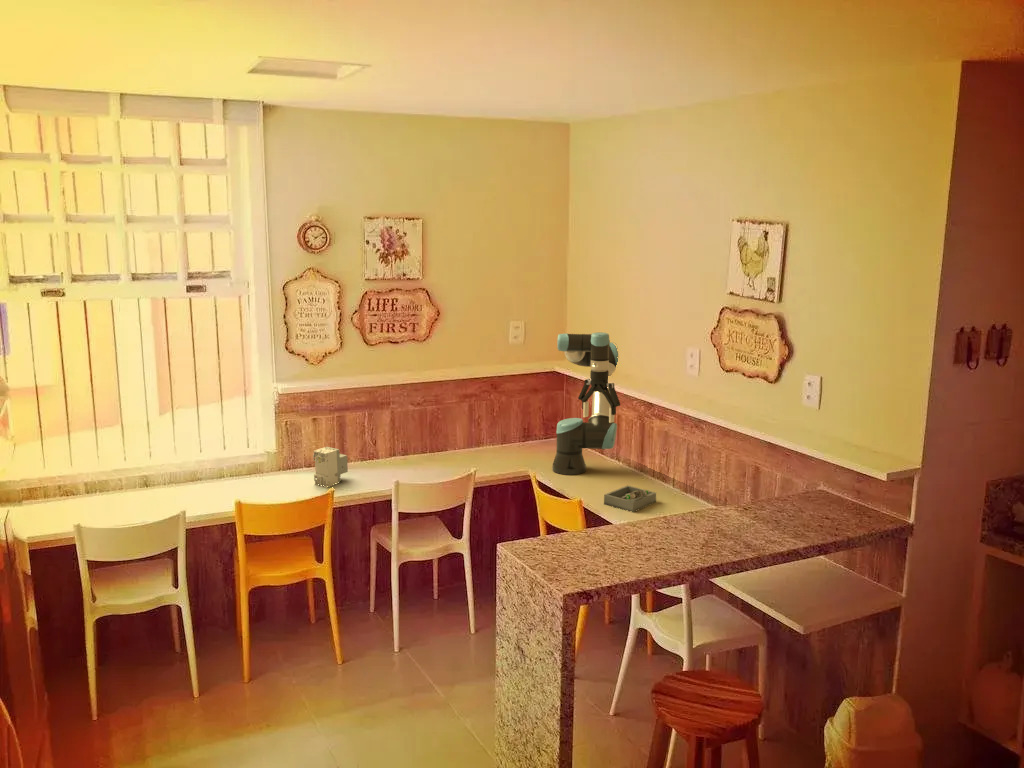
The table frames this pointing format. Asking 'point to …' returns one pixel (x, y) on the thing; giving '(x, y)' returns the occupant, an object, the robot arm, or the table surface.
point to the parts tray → (630, 505)
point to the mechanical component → (635, 494)
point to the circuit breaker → (329, 466)
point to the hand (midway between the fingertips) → (598, 419)
